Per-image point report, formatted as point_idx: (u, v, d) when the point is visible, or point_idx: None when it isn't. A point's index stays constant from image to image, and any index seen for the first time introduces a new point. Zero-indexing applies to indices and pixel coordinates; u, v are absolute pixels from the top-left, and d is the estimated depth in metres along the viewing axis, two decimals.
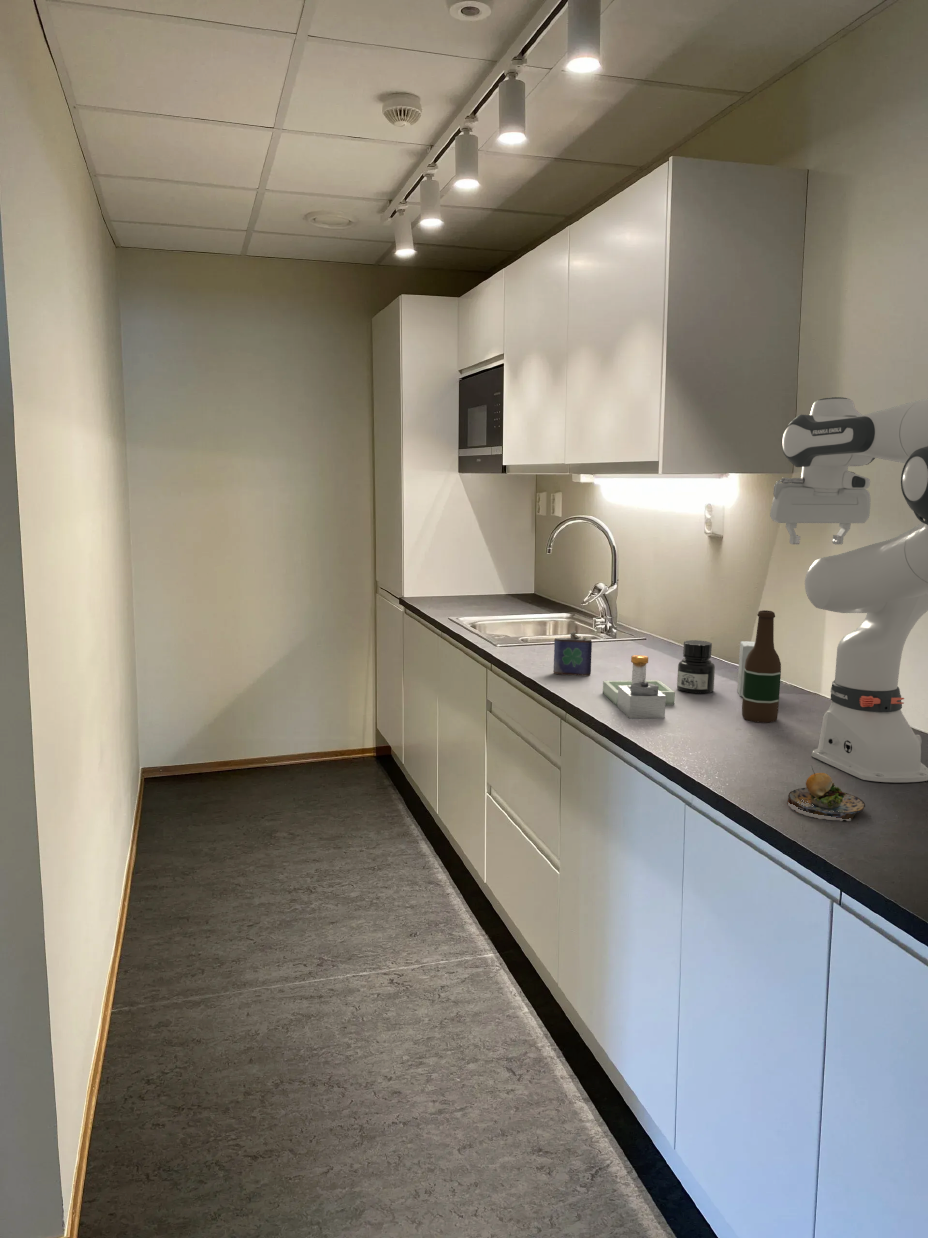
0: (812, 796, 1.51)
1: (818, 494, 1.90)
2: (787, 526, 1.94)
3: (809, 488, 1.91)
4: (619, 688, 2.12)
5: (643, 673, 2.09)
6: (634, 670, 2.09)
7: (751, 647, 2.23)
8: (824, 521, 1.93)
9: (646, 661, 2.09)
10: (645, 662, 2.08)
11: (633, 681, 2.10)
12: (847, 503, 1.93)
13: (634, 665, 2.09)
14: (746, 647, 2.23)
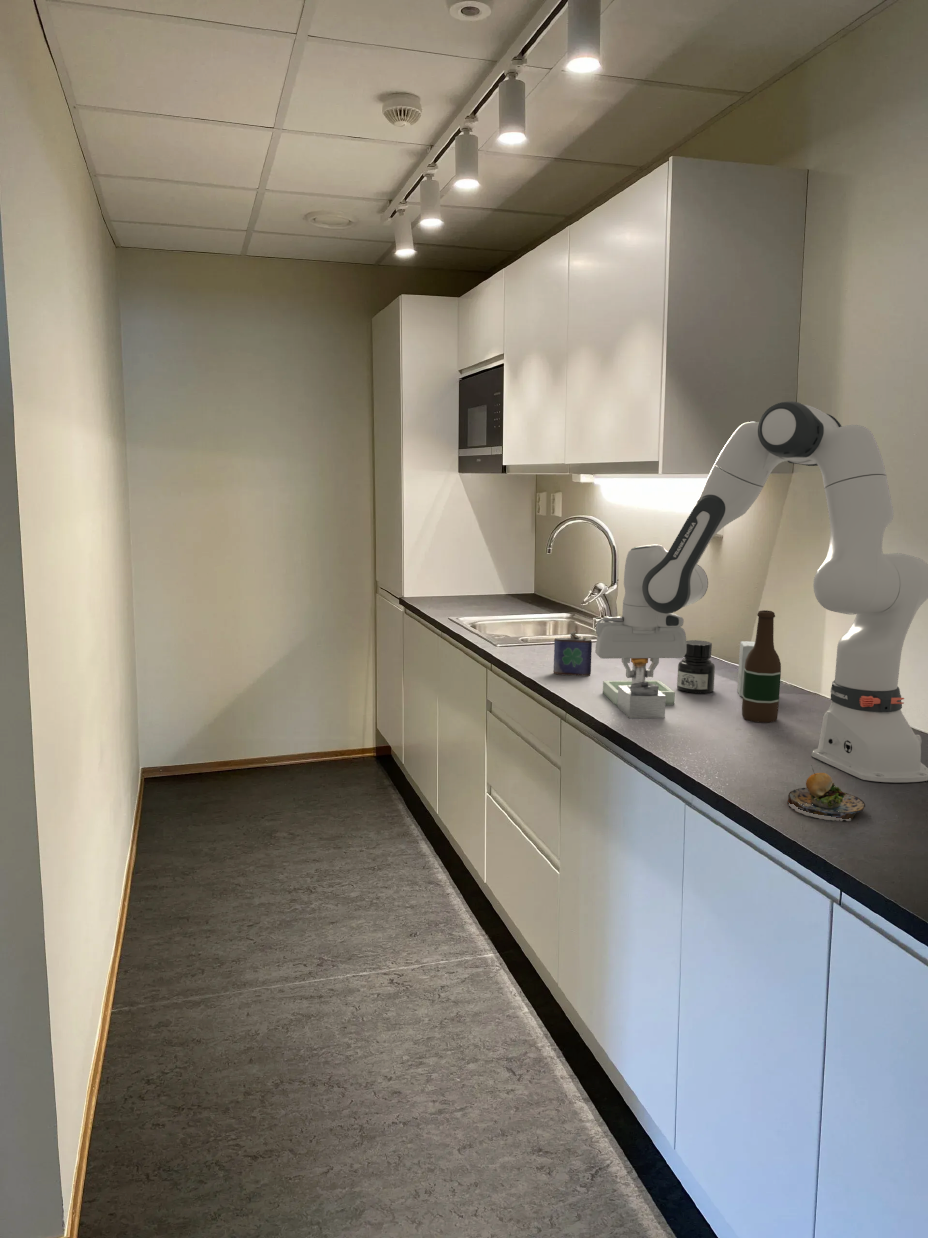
0: (812, 796, 1.51)
1: (636, 632, 2.06)
2: (622, 661, 2.09)
3: (628, 626, 2.06)
4: (619, 688, 2.12)
5: (643, 673, 2.09)
6: (634, 670, 2.10)
7: (751, 647, 2.23)
8: (644, 656, 2.08)
9: (646, 661, 2.09)
10: (645, 662, 2.09)
11: (633, 681, 2.10)
12: (665, 640, 2.08)
13: (634, 665, 2.09)
14: (746, 647, 2.23)
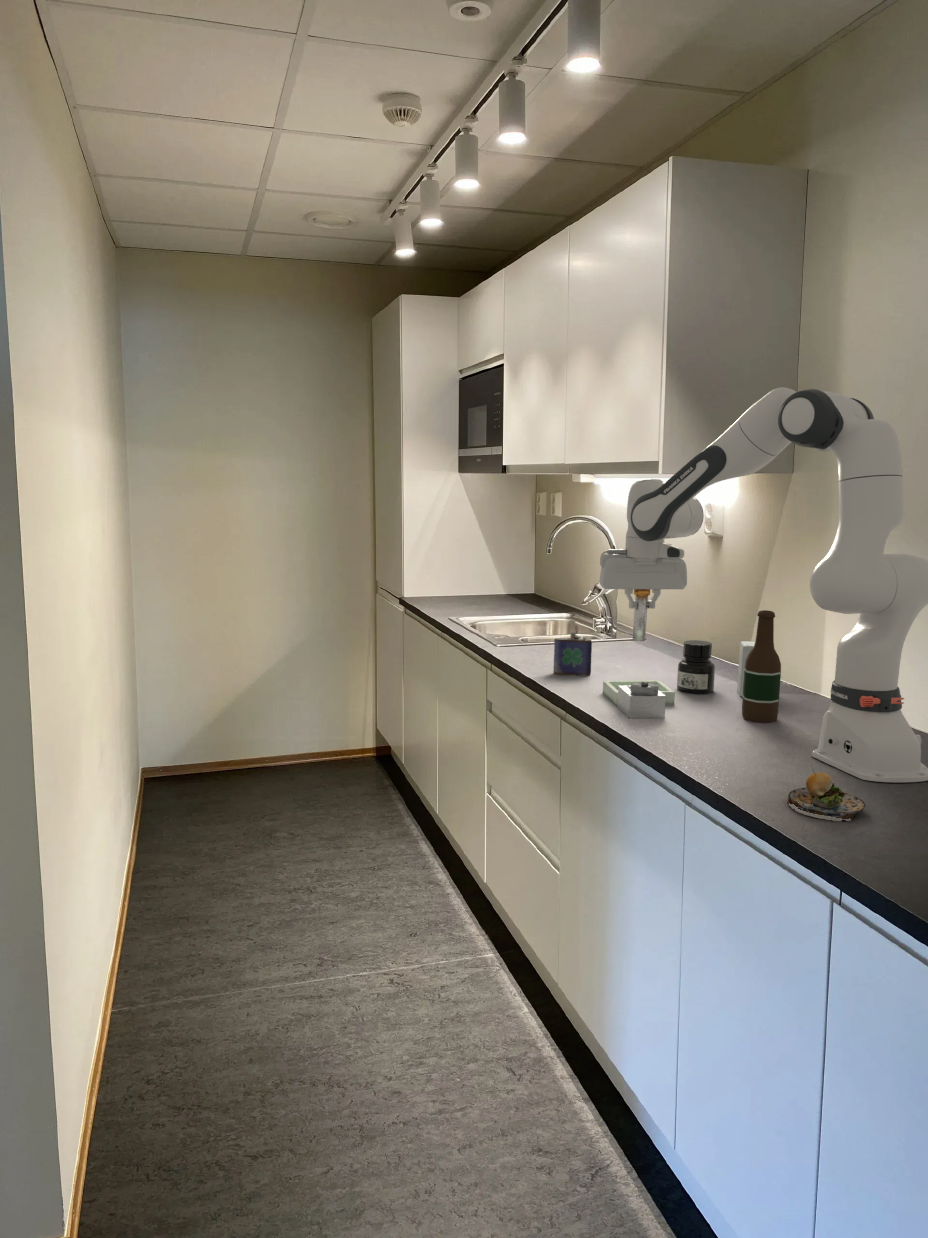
0: (812, 796, 1.51)
1: (638, 563, 2.14)
2: (625, 592, 2.18)
3: (631, 558, 2.15)
4: (619, 688, 2.12)
5: (645, 604, 2.18)
6: None
7: (751, 647, 2.23)
8: (646, 587, 2.16)
9: (648, 593, 2.17)
10: (647, 594, 2.17)
11: (635, 612, 2.19)
12: (666, 571, 2.16)
13: (636, 597, 2.18)
14: (746, 647, 2.23)
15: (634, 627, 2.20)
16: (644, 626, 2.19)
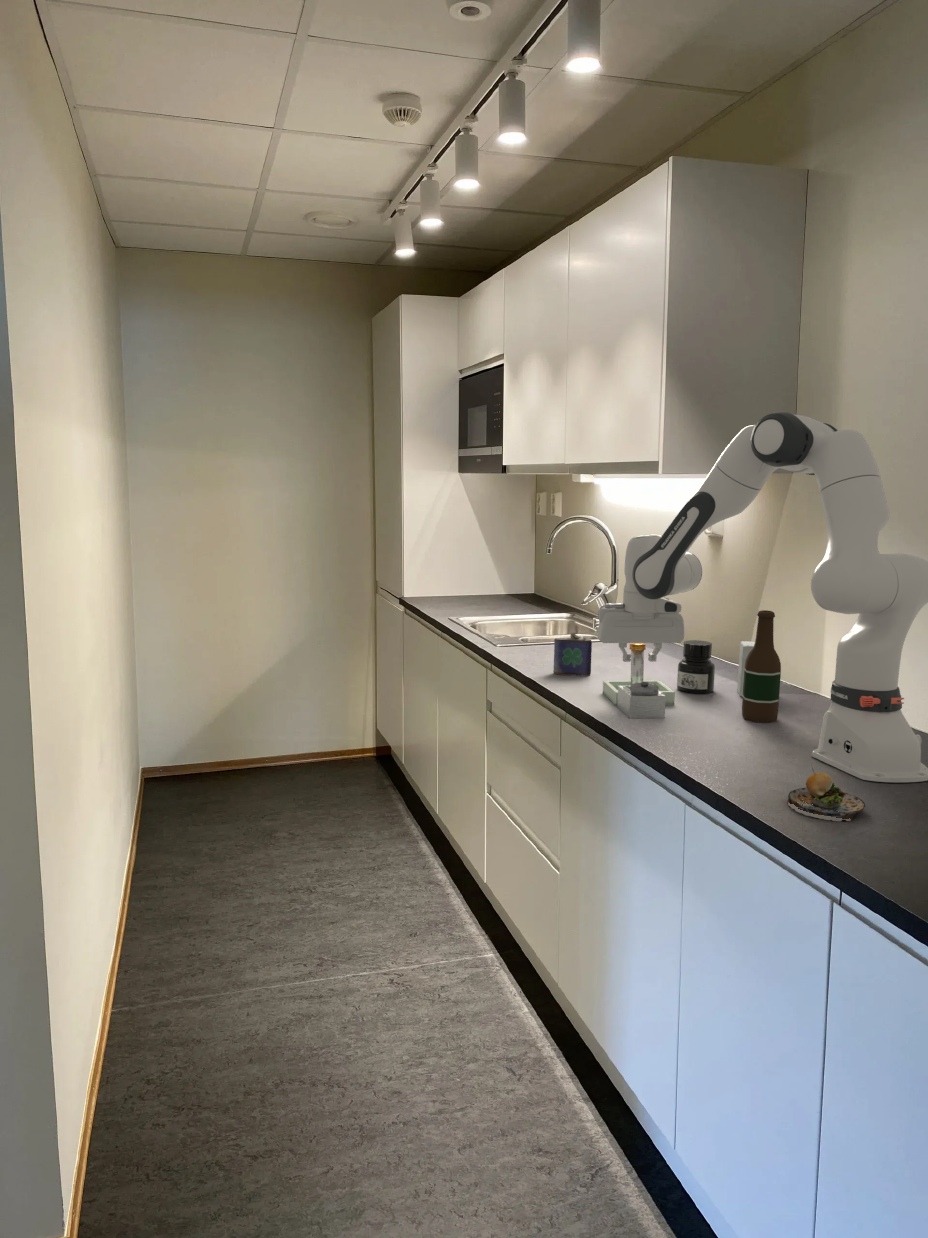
0: (812, 796, 1.51)
1: (636, 618, 2.16)
2: (619, 646, 2.20)
3: (628, 613, 2.17)
4: (619, 688, 2.12)
5: (641, 659, 2.21)
6: (632, 656, 2.21)
7: (751, 647, 2.23)
8: (644, 641, 2.18)
9: (644, 647, 2.20)
10: (643, 648, 2.20)
11: (632, 667, 2.22)
12: (663, 625, 2.18)
13: (632, 652, 2.21)
14: (746, 647, 2.23)
15: (631, 682, 2.22)
16: (641, 681, 2.21)
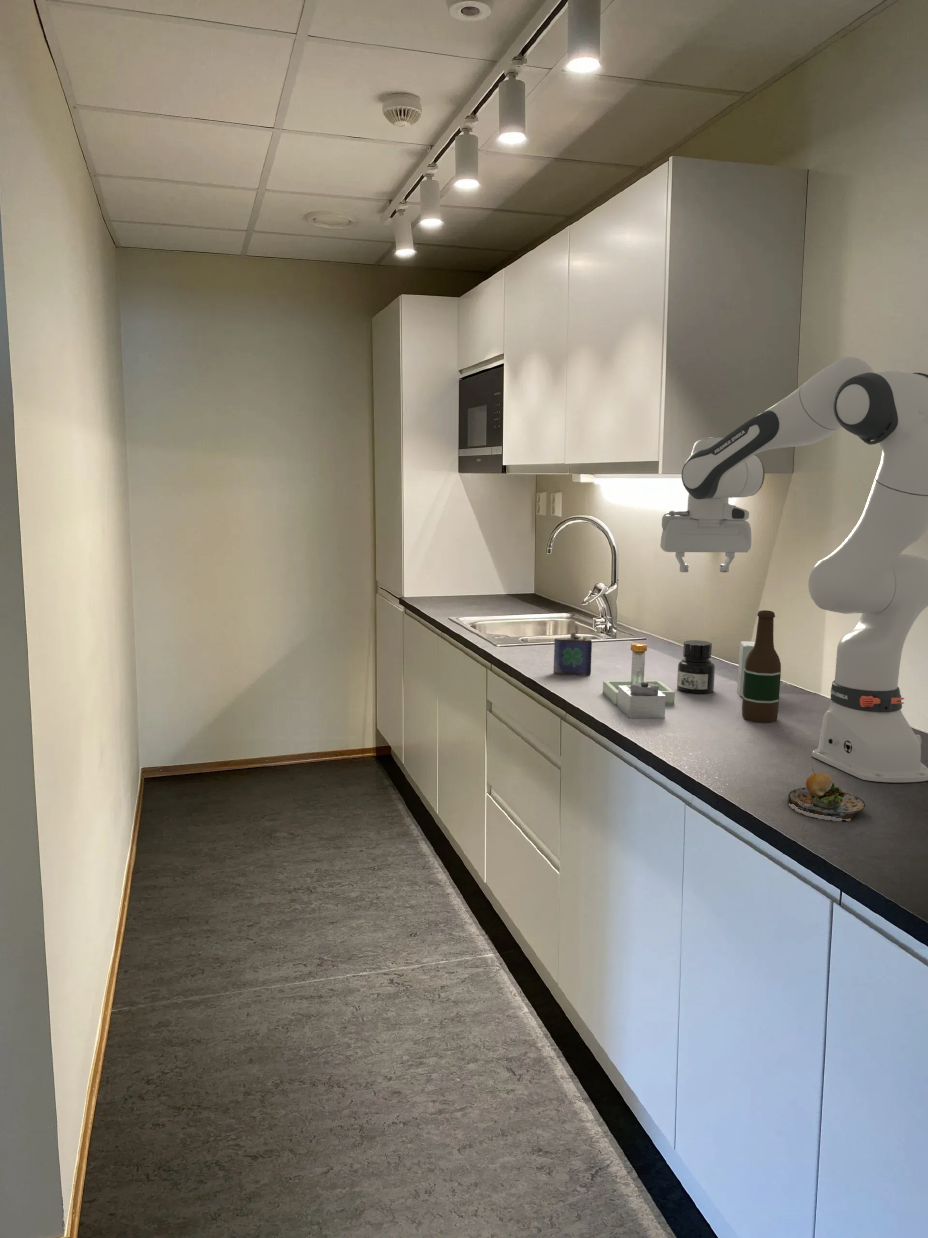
0: (812, 796, 1.51)
1: (702, 525, 2.07)
2: (676, 555, 2.10)
3: (693, 520, 2.08)
4: (619, 688, 2.12)
5: (642, 660, 2.20)
6: (634, 657, 2.21)
7: (751, 647, 2.23)
8: (709, 550, 2.09)
9: (645, 649, 2.20)
10: (644, 650, 2.20)
11: (633, 668, 2.21)
12: (730, 534, 2.09)
13: (633, 653, 2.21)
14: (746, 647, 2.23)
15: (631, 682, 2.22)
16: (641, 681, 2.21)
